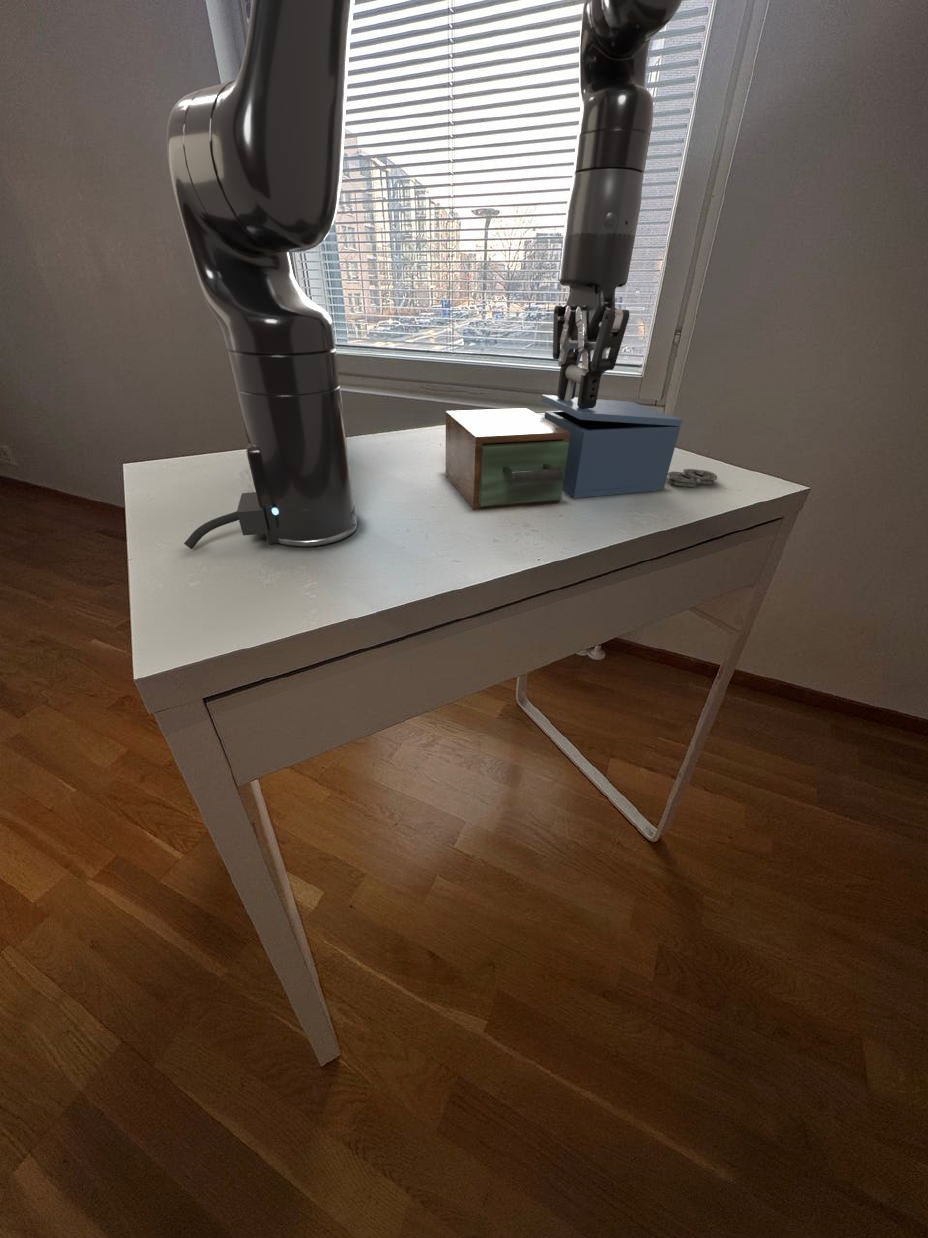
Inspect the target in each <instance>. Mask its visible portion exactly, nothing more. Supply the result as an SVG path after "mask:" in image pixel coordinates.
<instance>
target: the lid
mask: <svg viewBox="0 0 928 1238" xmlns="http://www.w3.org/2000/svg"><path fill="white" fill-rule="evenodd" d="M582 374H583V372H582V365H581V366H580V365H578V366H577V365H574V364H573V365H570V366H568V368H567V369H566V372H565V375H566V378H567V379H568V385H567V389H566V394H565V399H564V400H561V399H559V398H558V397H557V395H553V394H541V398H540V401H541V402H542V403H545V404H547V405H549V406H551V407H552V408H555V409H557V410H558V411H563V412H565V413H567V414H570V415H572V416H574V417H576V418H578V419H580V420H591V421H606V422H622V423H637V424H653V425H669V426H679V427H681V426H682V423H683V419H682V418H680V417H677V416H673V415H671V414H667V413H666V412H662V411H659V410H657V409H654V408H651V407H648V406H646V405H642V404H640V403H637V402H634V401H629V400H628V401H627V400H617V399H616V400H615V399H603V398H597V402H596V406H595V407H594V408H589V409H582V408H579V407H578V405H577V402H578V396H574V398H573V399H571V398H572V394H573V389H574V385H575V382H576V384H579V385H580V382H581V375H582Z"/></svg>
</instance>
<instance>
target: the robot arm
mask: <svg viewBox="0 0 928 1238" xmlns="http://www.w3.org/2000/svg"><path fill="white" fill-rule="evenodd" d="M682 2H683V0H584V1H583V7H582V8H583V9H582V14H581V23H580V33H579V102H580V103H579V104H580V117H579V123H578V129H577V136H576V145H575V155H574V163H573V172H572V174H573V175H572V178H571V179H572V181H571V185H570V190H569V195H568V199H567V205H566V213H565V221H564V222H565V223H564V231H563V232H564V233H563V241H562V250H561V259H560V268H559V277H558V281H559V283H560V285H561V286H563V287H569V291H568V296H567V298H566V302H565V304H561V305H560V304H559V305H558V304H556V305H555V306H554V308H553V326H552V327H553V329H552V359H553V360H557V365H558V367H560V369H559V377H558V384H557V385H558V386H557V395H556V396H557V397H558V398H559V399H561V400H564V399H565V394H566V389H567V385H568V379H567V378H566V375H565V372H566V369H567V368H568V366H570V365H573V364H574V365H577V366H579V364H580V361H581V367H582V372H583V374H582V375H581V382H580V384H579V388H578V395H577V397H578V402H577V405H578V407H579V408H582V409H589V408H594V407H595V406H596V402H597V399H598V395H599V389H600V383H601V378H602V375H604V374H605V373H606V372H607V371H613V370H614V369H615V367H616V364H617V360H618V356H619V354H620V350H621V346H622V344H623V339H624V336H625V333H626V329H627V326H628V323H629V319H630V310H629V309H619V308H617V307H616V289H617V288H622V287H624V286H626V284H627V282H628V279H629V274H630V268H631V262H632V257H633V251H634V246H635V240H636V235H637V228H638V223H639V217H640V212H641V205H642V194H643V181H644V174H645V168H646V163H647V157H648V151H649V147H650V140H651V133H652V128H653V121H654V98H653V96H652V93H651V92H650V91H649V89H647V88H645V87H646V74H647V64H648V55H649V48H650V43H651V40H652V39H653V37H654V36H656V35H657V34H658V33H659V32H660V31H661V30H662V29H663V28H664V27H666V25H667V24H668V23H669V22H670V21H671V20H672V18H673V17H674V16H675V14H676V12H678V10H679V8H680V6H681V4H682ZM250 3H251V4H250V11H249V12H250V13H249V23H248V30H247V36H246V44H245V48H244V49H245V50H244V53H243V58H242V63H241V66H240V69H239V71H238V73H237V76H236V78H235V79H233V80H230V81H225V82H222V83H219V84H215V85H211V86H207V87H203V88H200V89H197V90H194V91H192V92H190V93H188V94H185V95H184V96H183V97H181V98H180V99H179V100H178V101H177V102H176V103H175V104H174V106H173V107H172V109H171V112H170V114H169V117H168V121H167V127H166V155H167V163H168V164H167V165H168V170H169V171H168V172H169V176H170V180H171V185H172V190H173V193H174V198H175V202H176V205H177V206H176V207H177V209H178V213H179V217H180V220H181V224H182V227H183V231H184V234H185V238H186V242H187V245H188V248H189V251H190V255H191V258H192V262H193V265H194V269H195V272H196V277H197V280H198V284H199V287H200V290H201V293H202V295H203V299H204V301H205V303H206V306H207V308H208V309H209V311H210V313H211V315H212V316H213V318H214V320H215V321H216V323H217V325H218V326H219V329H220V331H221V334H222V337H223V340H224V341H223V342H224V345H225V349H227V350H226V353H227V357H228V362H229V367H230V371H231V375H232V377H233V383H234V387H235V391H236V396H237V401H238V405H239V409H240V413H241V417H242V422H243V426H244V430H245V434H246V439H247V444H246V445H247V446H246V451H245V453H246V457H247V460H248V461H247V462H248V465H249V469H250V474H251V478H252V482H253V486H254V490H255V491H250V492H241V495H240V498H239V502H238V505H237V509H236V511H233V512H230V513H226V514H224V515H221V516H218V517H216V518H213V519H211V520H209V521H207V522H204V523H203V524H201V525H200V526H199V527H197V528H196V529H195V530H194V531H193V532H192V533H191V534H190V535H189V536H188V538H187V539H186V540H185V541H184V542H183V544H184V545H185V546H186V547H187V548H189V549H190V550H193V549H194V547H195V546H196V545H197V544H198V543H199V541H200V540H201V539H202V538H204V536H206V535H207V534H208V533H210V532H212V531H214V530H216V529H217V528H220V527H222V526H225V525H228V524H231V523H235V522H236V521H238V522H239V526H240V530H241V533H242V536H254V535H265V538H266V541H267V544H269V545H272V544H282V545H285V546H292V547H318V546H324V545H329V544H332V543H336V542H338V541H342V540H344V539H346V538H347V537H349V536H351V535H352V534H353V533H354V532H355V531H356V530H357V528H358V520H357V516H356V507H355V503H354V494H353V486H352V485H353V484H352V475H351V467H350V459H349V452H348V451H349V450H348V441H347V434H346V425H345V417H344V415H345V414H344V408H343V407H344V406H343V399H342V390H341V389H342V388H341V382H340V373H339V365H338V356H337V349H336V340H335V331H334V324H333V321H332V318H331V316H330V315H329V313H328V312H327V311H326V310H325V309H324V308H323V307H321V306H319V305H318V304H316V303H315V302H314V301H312V300H311V299H310V298H309V297H308V296H307V295H306V294H305V292H303V291H302V289H301V288H300V286H299V285H298V283H297V281H296V278H295V275H294V272H293V268H292V264H291V263H292V262H291V258H290V254H289V253H300V252H307V251H310V250H312V249H314V248H316V247H318V246H319V245H321V244H322V243H323V242H324V240H325V239H326V238H327V236H328V235H329V233H330V231H331V229H332V226H333V224H334V222H335V219H336V216H337V210H338V207H339V201H340V200H339V199H340V194H341V186H342V178H343V176H342V175H343V163H344V144H345V129H346V110H347V90H348V73H349V57H350V56H349V55H350V45H351V34H352V27H353V26H352V24H353V18H354V17H353V16H354V10H355V9H354V8H355V0H251V2H250ZM608 350H609V352H608V356H607V351H608ZM576 390H577V383H576V382H575V385H574V389H573V394H572V398H571V399H573V398H574V397H576Z"/></svg>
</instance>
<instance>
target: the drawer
mask: <svg viewBox="0 0 928 1238" xmlns="http://www.w3.org/2000/svg"><path fill="white" fill-rule="evenodd" d="M568 446H569V443H568V442H566V441H554V440H543V441H525V442H507V443H488V444H482V445H481V451H480V475H479V499H478V503H479V504H480V505H481V506H492V505H503V504H515V503H526V502H537V501H549V500H560V501H561V500H562V493H563V489H562V488H563V481H564V474H565V467H566V460H567V453H568Z"/></svg>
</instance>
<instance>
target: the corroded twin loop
mask: <svg viewBox="0 0 928 1238" xmlns="http://www.w3.org/2000/svg"><path fill="white" fill-rule="evenodd" d="M667 477H669V478H668V481H669V483H670V484H672V485H674V486H679V487H686V488H687V487H688V488H690V487H696V486H697V485H707V486H708V485H712V484H714V482H715V480H717V479H718V475H717V474H716V473H714V472H712V471H709V470H704V469H698V468H697V469H695V468H684V469H683V470H682V471H668V475H667Z"/></svg>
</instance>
